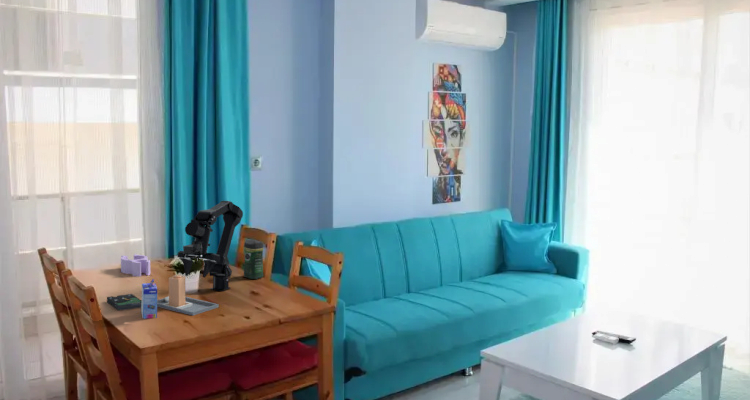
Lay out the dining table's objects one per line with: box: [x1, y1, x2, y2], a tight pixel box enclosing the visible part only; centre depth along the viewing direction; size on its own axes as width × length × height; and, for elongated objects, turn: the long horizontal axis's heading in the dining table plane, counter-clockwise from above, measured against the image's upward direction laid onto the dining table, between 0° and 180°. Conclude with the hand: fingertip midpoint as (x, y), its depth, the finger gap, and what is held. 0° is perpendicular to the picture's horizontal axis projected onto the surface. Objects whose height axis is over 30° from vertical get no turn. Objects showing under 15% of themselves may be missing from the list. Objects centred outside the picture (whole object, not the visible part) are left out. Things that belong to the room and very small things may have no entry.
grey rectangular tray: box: [157, 295, 220, 316], centre depth 262 cm, size 24×14×3 cm, turn 60°
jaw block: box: [168, 274, 186, 307], centre depth 261 cm, size 5×5×13 cm
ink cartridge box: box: [140, 278, 158, 320], centre depth 249 cm, size 10×6×14 cm, turn 23°
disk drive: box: [106, 293, 141, 312], centre depth 264 cm, size 10×3×15 cm
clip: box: [120, 253, 151, 277], centre depth 319 cm, size 20×12×7 cm, turn 41°
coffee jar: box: [243, 239, 264, 280], centre depth 315 cm, size 10×8×19 cm
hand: (195, 276), depth 270 cm, fingers open, 9 cm apart
